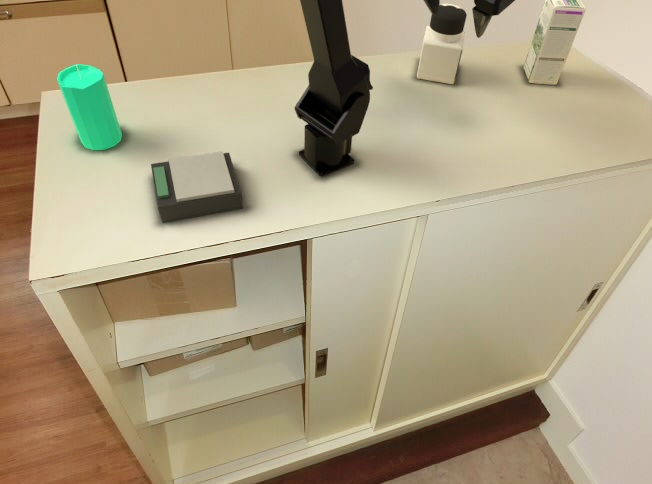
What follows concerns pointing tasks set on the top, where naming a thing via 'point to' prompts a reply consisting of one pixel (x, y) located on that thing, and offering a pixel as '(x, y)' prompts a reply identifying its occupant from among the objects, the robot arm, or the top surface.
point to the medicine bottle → (443, 45)
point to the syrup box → (553, 40)
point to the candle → (90, 106)
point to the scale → (196, 186)
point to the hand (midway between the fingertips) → (457, 24)
